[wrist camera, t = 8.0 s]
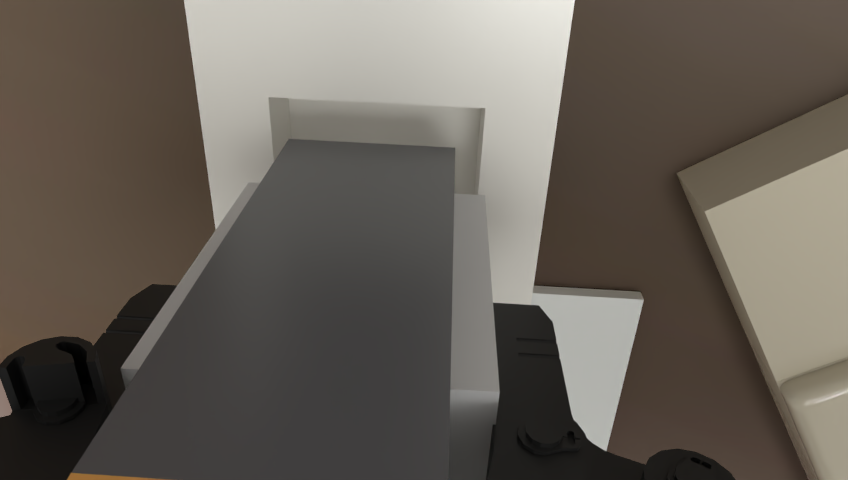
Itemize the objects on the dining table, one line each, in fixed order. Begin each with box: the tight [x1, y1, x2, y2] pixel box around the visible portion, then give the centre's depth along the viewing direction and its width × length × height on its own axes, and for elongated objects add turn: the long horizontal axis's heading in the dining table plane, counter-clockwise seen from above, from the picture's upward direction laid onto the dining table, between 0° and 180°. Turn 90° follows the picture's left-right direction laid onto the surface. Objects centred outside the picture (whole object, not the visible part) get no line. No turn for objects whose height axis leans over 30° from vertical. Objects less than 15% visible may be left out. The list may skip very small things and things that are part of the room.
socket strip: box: [184, 0, 575, 305], centre depth 13 cm, size 17×9×13 cm, turn 178°
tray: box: [531, 286, 644, 451], centre depth 26 cm, size 14×10×1 cm
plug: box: [67, 139, 455, 480], centre depth 12 cm, size 4×4×11 cm
